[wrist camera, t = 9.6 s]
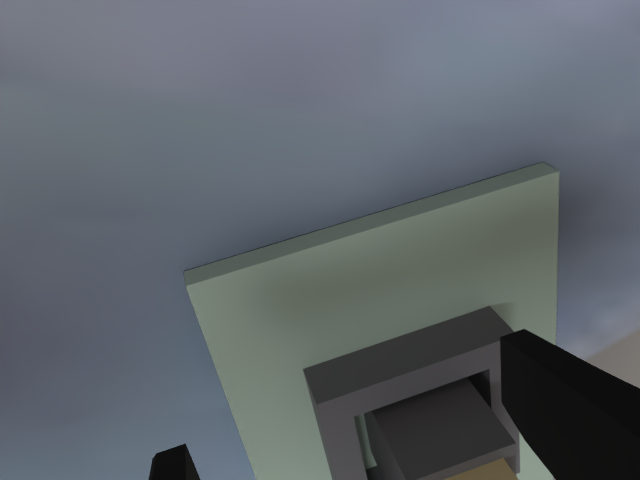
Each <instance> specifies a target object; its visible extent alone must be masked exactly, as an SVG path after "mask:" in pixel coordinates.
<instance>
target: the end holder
mask: <svg viewBox="0 0 640 480" xmlns="http://www.w3.org/2000/svg"><path fill="white" fill-rule="evenodd" d="M558 218H559V171H558V170H557V169H555V168H553V167H551V166H550V165H548V164H546V163H544V162H542V163H539V164H535V165H532V166H529V167H525V168H522V169H519V170H516V171H512V172H509V173H506V174H502V175H499V176H496V177H493V178H489V179H486V180H483V181H479V182H476V183H473V184H470V185H466V186H463V187H460V188H456V189H453V190H450V191H447V192H443V193H440V194H437V195H433V196H430V197H427V198H424V199H420V200H417V201H414V202H410V203H407V204H404V205H401V206H397V207H394V208H391V209H387V210H384V211H381V212H378V213H374V214H371V215H368V216H364V217H361V218H358V219H355V220H351V221H348V222H345V223H341V224H338V225H335V226H332V227H328V228H325V229H322V230H318V231H315V232H312V233H309V234H305V235H302V236H299V237H295V238H292V239H289V240H286V241H282V242H279V243H276V244H272V245H269V246H266V247H263V248H259V249H256V250H253V251H249V252H246V253H243V254H240V255H236V256H233V257H230V258H226V259H223V260H220V261H217V262H213V263H210V264H207V265H203V266H200V267H197V268H194V269H190V270H187V271H184V279H185V285H186V289H187V291H188V294H189V297H190V300H191V302H192V305H193V308H194V311H195V313H196V316H197V319H198V322H199V324H200V327H201V330H202V333H203V335H204V338H205V341H206V343H207V346H208V349H209V352H210V354H211V357H212V360H213V363H214V365H215V368H216V371H217V374H218V376H219V379H220V382H221V384H222V387H223V390H224V393H225V395H226V398H227V401H228V404H229V406H230V409H231V412H232V415H233V417H234V420H235V423H236V426H237V428H238V431H239V434H240V436H241V439H242V442H243V445H244V447H245V450H246V453H247V456H248V458H249V461H250V464H251V467H252V469H253V472H254V475H255V478H256V480H384V479H383V477H382V475H381V473H380V471H379V468H378V466H377V464H376V462H375V460H374V458H373V455H372V453H371V451H370V445H369V440H368V434H367V429H366V424H365V418H364V413H367V412H369V411H372V410H375V409H378V408H381V407H383V406H386V405H389V404H392V403H395V402H397V401H400V400H403V399H406V398H409V397H412V396H414V395H417V394H420V393H423V392H426V391H428V390H431V389H434V388H437V387H440V386H442V385H445V384H448V383H451V382H454V381H456V380H459V379H462V378H465V377H467V378H468V379H469V380H470V382H471V383H472V384H473V386H474V387H475V388H476V390H477V391H478V392H479V394H480V395H481V396H482V398H483V399H484V400H485V402H486V403H487V404H488V406H489V407H490V408H491V410H492V411H493V412H494V414H495V415H496V417H497V418H498V419H499V421H500V422H501V423H502V425H503V426H504V427H505V429H506V430H507V431H508V433H509V434H510V435H511V437H512V438H513V439H514V441H515V442H516V477H517V478H518V480H553V475H552V474H551V473H550V472H549V471H548V469H547V468H546V467H545V465H544V464H543V463H542V462H541V460H540V459H539V458H538V457H537V455H536V454H535V453H534V452H533V450H532V449H531V448H530V446H529V445H528V444H527V443H526V441H525V440H524V438H523V437H522V435H521V434H520V432H519V430H518V429H517V427H516V426H515V424H514V422H513V421H512V419H511V417H510V416H509V414H508V412H507V411H506V409H505V407H504V406H503V404H502V402H501V359H500V337H501V336H504V335H507V334H510V333H513V332H516V331H519V330H522V329H526V330H528V331H530V332H532V333H534V334H535V335H537V336H539V337H541V338H543V339H545V340H547V341H548V342H550V343H552V344H554V345H556V314H557V266H558Z"/></svg>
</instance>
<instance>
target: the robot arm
mask: <svg viewBox="0 0 640 480" xmlns="http://www.w3.org/2000/svg"><path fill="white" fill-rule="evenodd" d="M500 359H501V402H502V404H503V406H504V407H505V409H506V411H507V412H508V414H509V416H510V417H511V419H512V421H513V422H514V424H515V426H516V427H517V429H518V430H519V432H520V434H521V435H522V437H523V438H524V440H525V441H526V443H527V444H528V445H529V446H530V448H531V449H532V450H533V452H534V453H535V454H536V455H537V457H538V458H539V459H540V460H541V462H542V463H543V464H544V465H545V467H546V468H547V469H548V471H549V472H550V473H551V474H552V475H553V477H554V478H555V479H556V480H640V389H639V388H637V387H635V386H633V385H631V384H629V383H627V382H625V381H623V380H621V379H619V378H617V377H615V376H612V375H611V374H609V373H607V372H605V371H603V370H601V369H599V368H597V367H595V366H593V365H591V364H589V363H587V362H585V361H584V360H582V359H580V358H578V357H576V356H574V355H572V354H571V353H569V352H567V351H565V350H563V349H561V348H559V347H558V346H556V345H554V344H552V343H550V342H548V341H547V340H545V339H543V338H541V337H539V336H537V335H535V334H534V333H532V332H530V331H528V330H526V329H522V330H519V331H516V332H513V333H510V334H507V335H504V336H501V337H500ZM149 480H200V478H199V475H198V473H197V470H196V468H195V465H194V463H193V461H192V458H191V456H190V453H189V451H188V448H187V446H186V444H183V445H180V446H177V447H174V448H171V449H168V450H165V451H162V452H159V453H156V455H155V456H154V458H153V460H152V465H151V471H150V476H149Z"/></svg>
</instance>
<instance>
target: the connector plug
mask: <svg viewBox="0 0 640 480" xmlns="http://www.w3.org/2000/svg"><path fill="white" fill-rule="evenodd" d="M364 418H365V424H366V429H367V434H368V440H369V445H370V451H371V453H372V455H373V458H374V460H375V462H376V464H377V466H378V468H379V471H380V473H381V475H382V477H383V479H384V480H518V478H517V477H516V442H515V441H514V439H513V438H512V437H511V435H510V434H509V433H508V431H507V430H506V429H505V427H504V426H503V425H502V423H501V422H500V421H499V419H498V418H497V417H496V415H495V414H494V412H493V411H492V410H491V408H490V407H489V406H488V404H487V403H486V402H485V400H484V399H483V398H482V396H481V395H480V394H479V392H478V391H477V390H476V388H475V387H474V386H473V384H472V383H471V382H470V380H469V379H468V378H467V377H465V378H462V379H459V380H456V381H454V382H451V383H448V384H445V385H442V386H440V387H437V388H434V389H431V390H428V391H426V392H423V393H420V394H417V395H414V396H412V397H409V398H406V399H403V400H400V401H397V402H395V403H392V404H389V405H386V406H383V407H381V408H378V409H375V410H372V411H369V412H367V413H364Z"/></svg>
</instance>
